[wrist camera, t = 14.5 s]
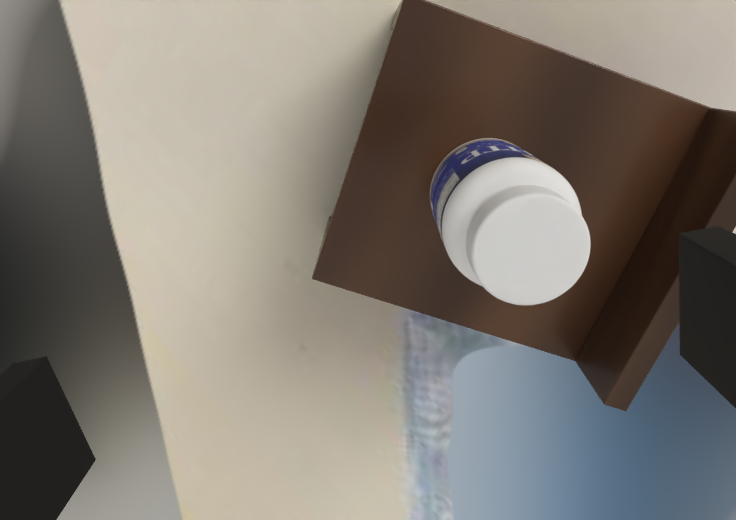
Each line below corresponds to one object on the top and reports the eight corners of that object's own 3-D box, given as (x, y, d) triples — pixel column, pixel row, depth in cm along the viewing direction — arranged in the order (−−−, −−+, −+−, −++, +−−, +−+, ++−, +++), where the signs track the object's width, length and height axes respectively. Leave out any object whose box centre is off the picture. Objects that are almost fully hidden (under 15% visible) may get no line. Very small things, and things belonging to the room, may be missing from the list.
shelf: (324, 232, 36) (302, 313, 25) (397, 7, 31) (412, -20, 20) (550, 305, 38) (626, 412, 26) (651, 102, 33) (795, 126, 22)
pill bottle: (548, 142, 26) (632, 183, 18) (525, 248, 28) (592, 331, 19) (436, 130, 26) (467, 166, 17) (420, 237, 28) (441, 316, 19)
